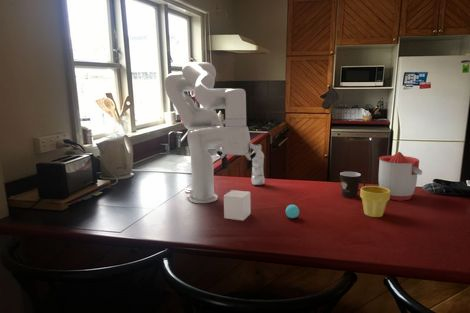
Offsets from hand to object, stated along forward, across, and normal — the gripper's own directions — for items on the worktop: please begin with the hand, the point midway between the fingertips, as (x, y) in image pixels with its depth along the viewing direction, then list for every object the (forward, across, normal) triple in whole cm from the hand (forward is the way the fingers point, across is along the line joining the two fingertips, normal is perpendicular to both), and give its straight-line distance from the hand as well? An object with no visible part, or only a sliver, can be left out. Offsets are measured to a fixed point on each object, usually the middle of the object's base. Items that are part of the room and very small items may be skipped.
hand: (237, 169), depth 133 cm
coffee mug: (+19, +38, +38) cm, 57 cm away
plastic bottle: (+18, -7, +44) cm, 48 cm away
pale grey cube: (+18, 0, 0) cm, 18 cm away
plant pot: (+19, +48, +19) cm, 55 cm away
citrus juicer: (+19, +57, +44) cm, 74 cm away
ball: (+16, +20, +5) cm, 26 cm away
